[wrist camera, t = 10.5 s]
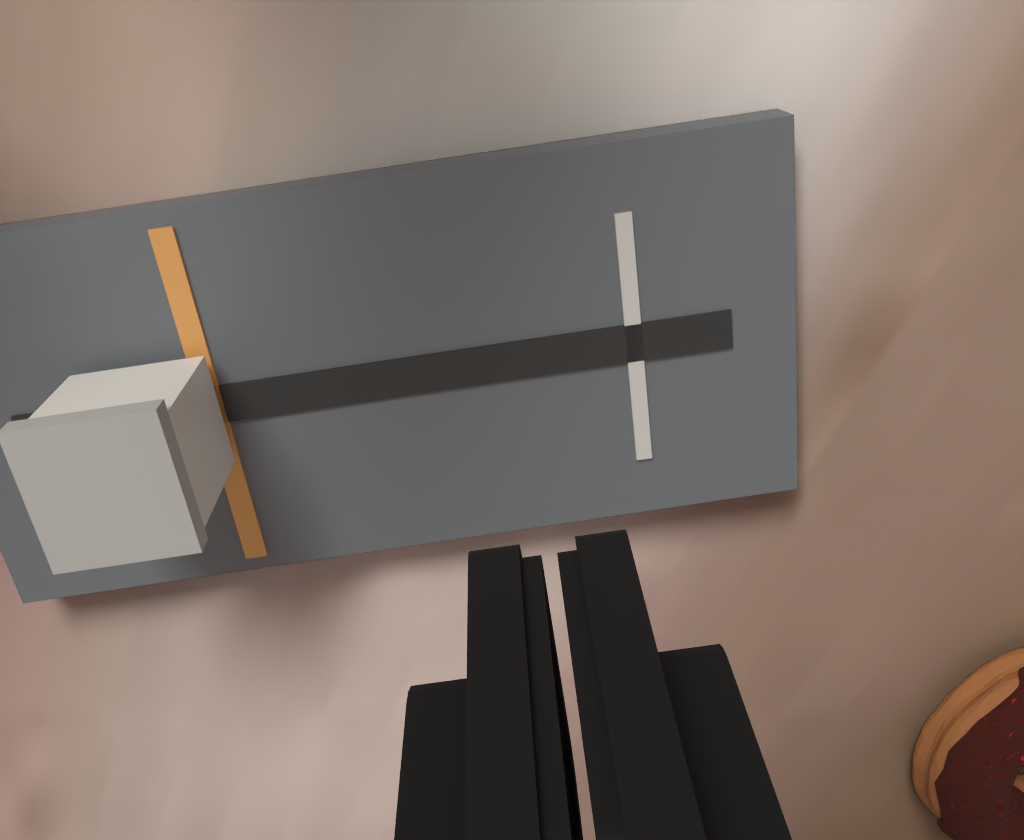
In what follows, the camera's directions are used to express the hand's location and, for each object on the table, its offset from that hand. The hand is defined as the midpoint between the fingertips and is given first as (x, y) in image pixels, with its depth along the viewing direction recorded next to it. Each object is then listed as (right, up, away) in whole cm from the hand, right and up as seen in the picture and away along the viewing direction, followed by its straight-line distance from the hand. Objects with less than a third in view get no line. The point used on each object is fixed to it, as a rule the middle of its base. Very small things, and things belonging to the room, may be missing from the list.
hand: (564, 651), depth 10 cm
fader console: (-5, +4, +20) cm, 21 cm away
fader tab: (-11, +2, +18) cm, 22 cm away
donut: (+20, -10, +29) cm, 36 cm away
